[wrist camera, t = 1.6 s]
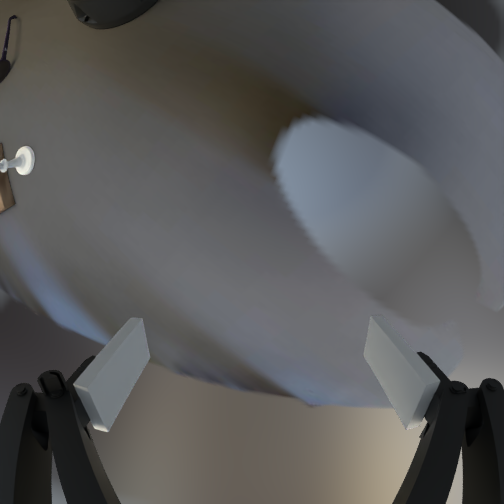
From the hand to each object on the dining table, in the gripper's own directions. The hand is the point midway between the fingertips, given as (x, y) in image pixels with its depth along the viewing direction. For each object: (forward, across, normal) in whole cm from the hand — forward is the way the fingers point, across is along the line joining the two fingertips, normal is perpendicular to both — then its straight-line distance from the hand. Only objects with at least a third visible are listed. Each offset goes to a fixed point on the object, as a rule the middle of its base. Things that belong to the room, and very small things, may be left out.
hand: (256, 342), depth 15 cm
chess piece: (+20, -37, +16) cm, 46 cm away
